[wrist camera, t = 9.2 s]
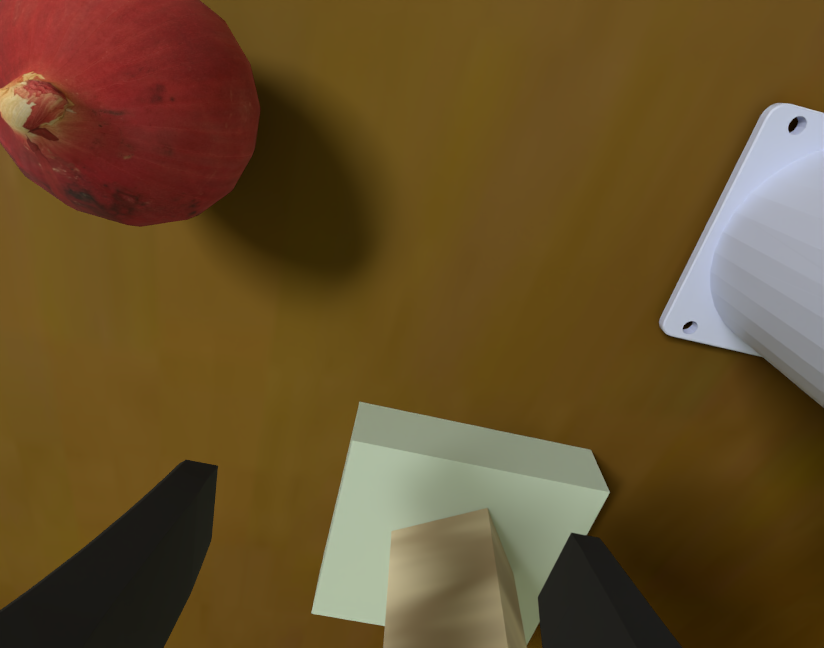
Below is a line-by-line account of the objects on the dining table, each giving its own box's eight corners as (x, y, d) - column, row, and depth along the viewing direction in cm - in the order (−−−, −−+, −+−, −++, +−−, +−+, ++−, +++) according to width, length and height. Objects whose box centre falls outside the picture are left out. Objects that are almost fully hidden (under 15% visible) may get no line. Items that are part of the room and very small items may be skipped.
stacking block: (587, 441, 22) (610, 492, 20) (513, 591, 27) (524, 649, 24) (361, 394, 21) (352, 440, 19) (322, 556, 26) (311, 613, 23)
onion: (271, 213, 18) (166, 310, 10) (98, 163, 17) (-140, 229, 10) (304, 25, 15) (196, -18, 8) (103, -42, 14) (-210, -154, 7)
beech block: (487, 507, 20) (510, 667, 15) (513, 574, 22) (543, 740, 16) (391, 531, 21) (380, 692, 15) (423, 593, 22) (424, 760, 17)
